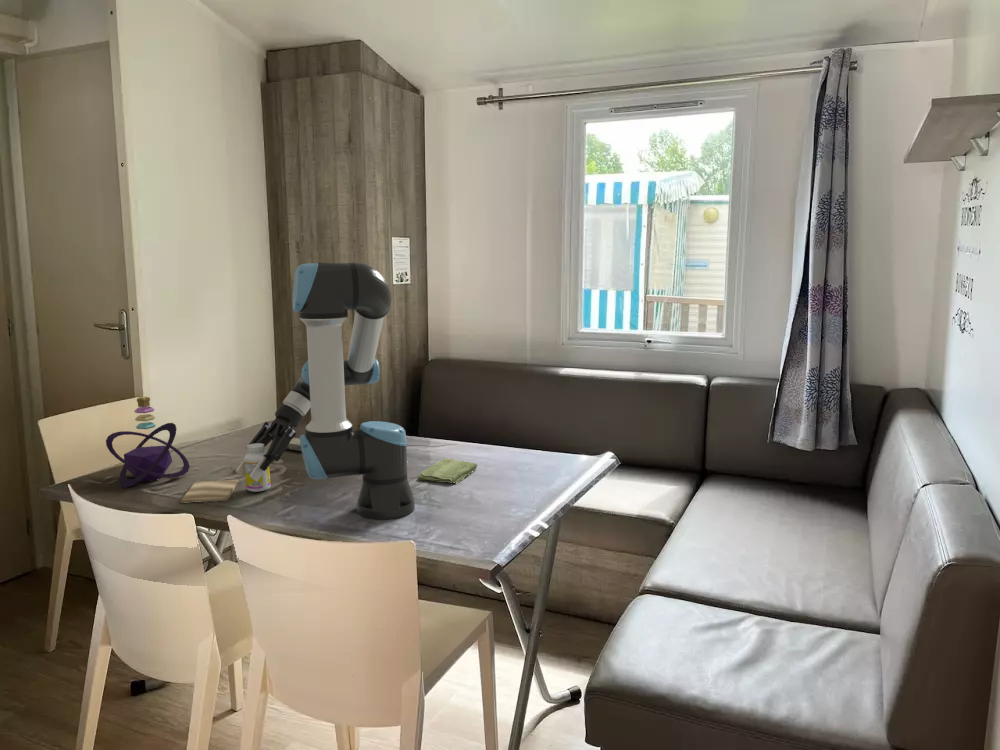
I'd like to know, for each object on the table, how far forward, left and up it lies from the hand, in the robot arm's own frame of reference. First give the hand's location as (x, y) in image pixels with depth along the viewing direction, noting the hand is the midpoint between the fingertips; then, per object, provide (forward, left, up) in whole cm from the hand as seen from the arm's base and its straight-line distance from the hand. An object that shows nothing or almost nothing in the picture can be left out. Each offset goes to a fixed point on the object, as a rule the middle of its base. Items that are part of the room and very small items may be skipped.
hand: (246, 476), depth 207 cm
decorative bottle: (+19, +31, -5) cm, 37 cm away
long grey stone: (+41, -19, -6) cm, 45 cm away
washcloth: (+8, -58, -6) cm, 59 cm away
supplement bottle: (+2, -3, -5) cm, 6 cm away
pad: (+2, +10, -5) cm, 12 cm away
